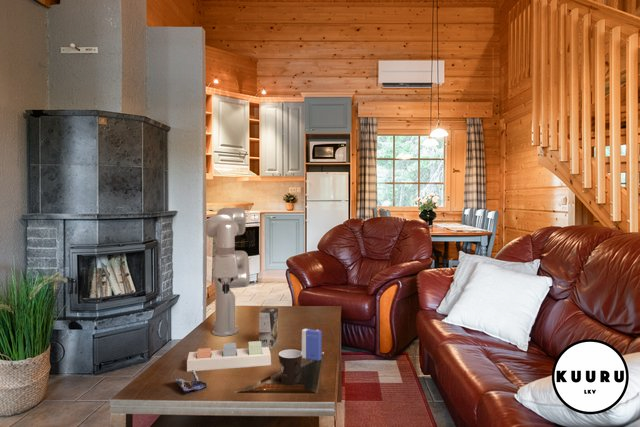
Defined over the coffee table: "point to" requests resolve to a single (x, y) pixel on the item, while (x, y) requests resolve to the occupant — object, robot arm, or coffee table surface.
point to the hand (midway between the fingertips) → (225, 292)
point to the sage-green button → (254, 348)
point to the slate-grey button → (229, 349)
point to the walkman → (311, 344)
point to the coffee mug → (290, 365)
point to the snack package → (191, 383)
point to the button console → (228, 360)
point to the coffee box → (268, 327)
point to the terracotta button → (204, 353)
